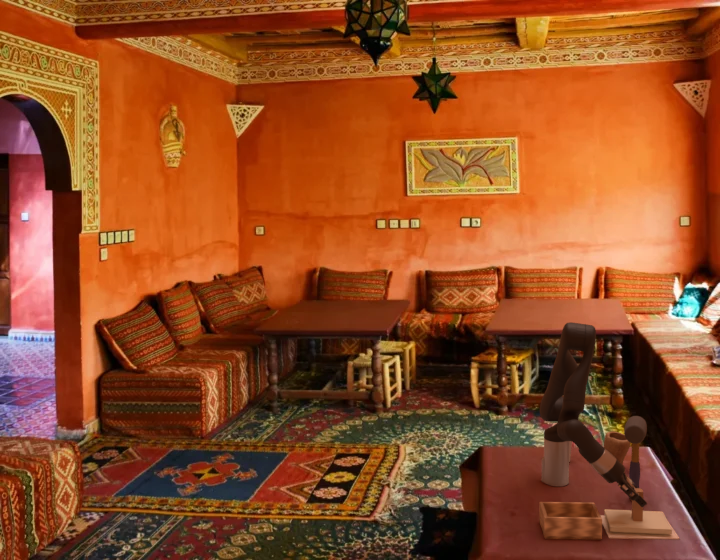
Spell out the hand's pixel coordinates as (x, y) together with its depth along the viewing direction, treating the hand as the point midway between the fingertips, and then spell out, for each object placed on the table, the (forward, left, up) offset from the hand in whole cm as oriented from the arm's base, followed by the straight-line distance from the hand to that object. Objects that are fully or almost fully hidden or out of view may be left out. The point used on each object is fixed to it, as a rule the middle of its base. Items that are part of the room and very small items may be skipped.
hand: (642, 500), depth 270 cm
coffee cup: (-48, +42, -10) cm, 65 cm away
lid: (-1, -1, -8) cm, 8 cm away
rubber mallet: (-10, +20, -10) cm, 25 cm away
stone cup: (-28, +45, -10) cm, 54 cm away
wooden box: (-18, -16, -10) cm, 26 cm away
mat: (-1, -1, -10) cm, 10 cm away
